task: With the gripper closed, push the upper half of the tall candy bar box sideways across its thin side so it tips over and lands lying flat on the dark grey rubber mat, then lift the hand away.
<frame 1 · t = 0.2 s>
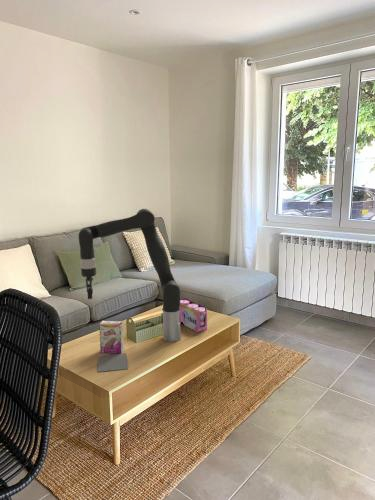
hand: (90, 296, 204), 28 cm above the table, tool pointing down, fingers open, 8 cm apart
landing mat: (112, 362, 192), on the table
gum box: (191, 325, 238), on the table
candy bar box: (112, 352, 203), on the table
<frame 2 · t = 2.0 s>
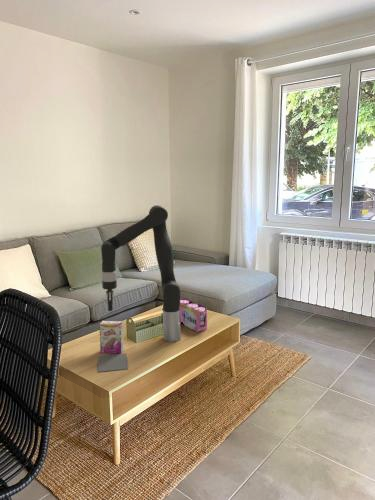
hand: (110, 310, 207), 20 cm above the table, tool pointing down, fingers closed
nothing on the table moved.
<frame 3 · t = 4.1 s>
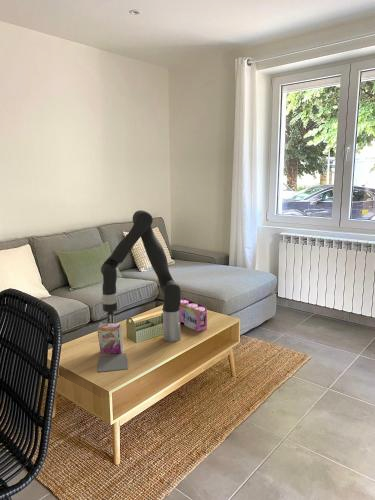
hand: (111, 332, 205), 9 cm above the table, tool pointing down, fingers closed
candy bar box: (112, 351, 203), on the table, touching hand
everything else where it was.
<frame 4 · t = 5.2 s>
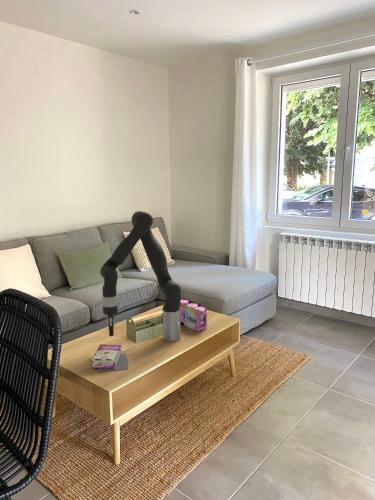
hand: (111, 335, 202), 9 cm above the table, tool pointing down, fingers closed
candy bar box: (111, 348, 201), point 3 cm above the table, touching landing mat
everything else where it was.
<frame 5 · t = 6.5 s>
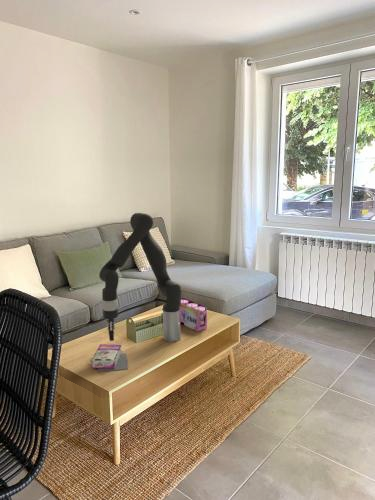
hand: (111, 340, 196), 9 cm above the table, tool pointing down, fingers closed
nothing on the table moved.
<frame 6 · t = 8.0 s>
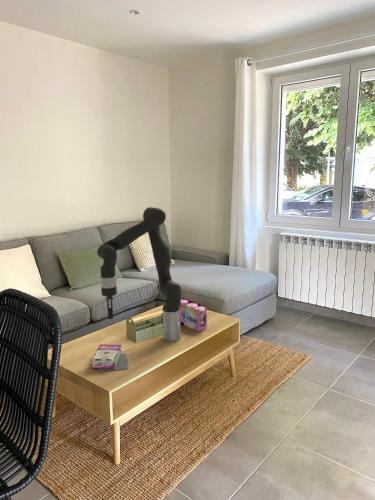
hand: (110, 318, 194), 21 cm above the table, tool pointing down, fingers closed
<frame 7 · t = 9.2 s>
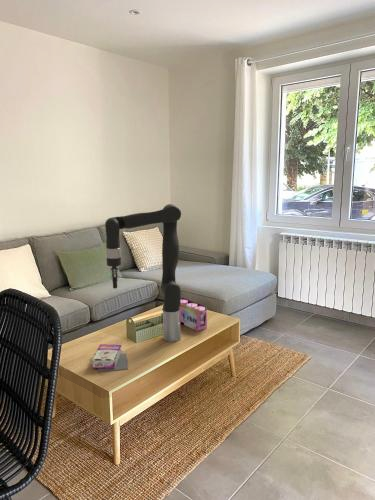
hand: (115, 288, 206), 32 cm above the table, tool pointing down, fingers closed
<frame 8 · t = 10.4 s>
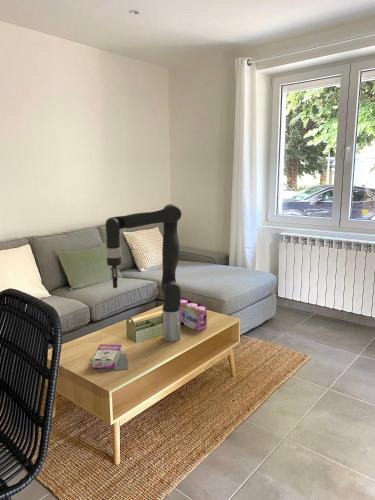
hand: (115, 287, 207), 32 cm above the table, tool pointing down, fingers closed
at the end: candy bar box tilted 89°; candy bar box touching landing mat; candy bar box inside the target area (8.5 cm from its centre), point 2.8 cm above the table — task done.
